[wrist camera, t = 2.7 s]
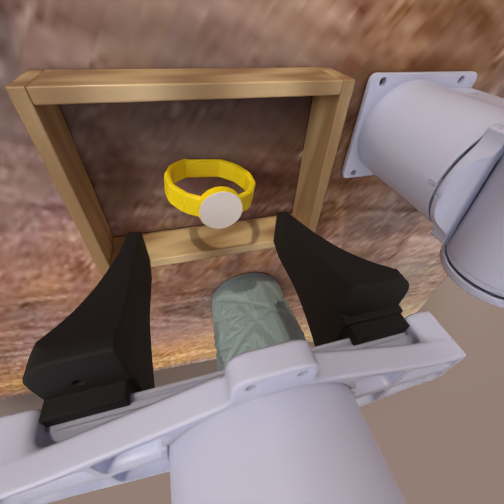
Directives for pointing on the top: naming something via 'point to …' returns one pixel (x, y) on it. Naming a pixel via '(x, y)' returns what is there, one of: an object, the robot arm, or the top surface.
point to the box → (173, 89)
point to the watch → (210, 191)
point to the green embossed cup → (250, 316)
